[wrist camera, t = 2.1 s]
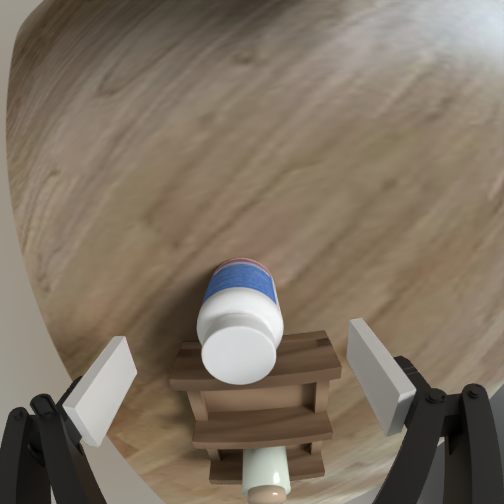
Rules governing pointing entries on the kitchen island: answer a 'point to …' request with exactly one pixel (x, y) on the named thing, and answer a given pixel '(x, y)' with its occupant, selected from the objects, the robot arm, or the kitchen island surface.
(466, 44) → the kitchen island surface
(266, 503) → the jar
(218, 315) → the pill bottle
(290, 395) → the rack
